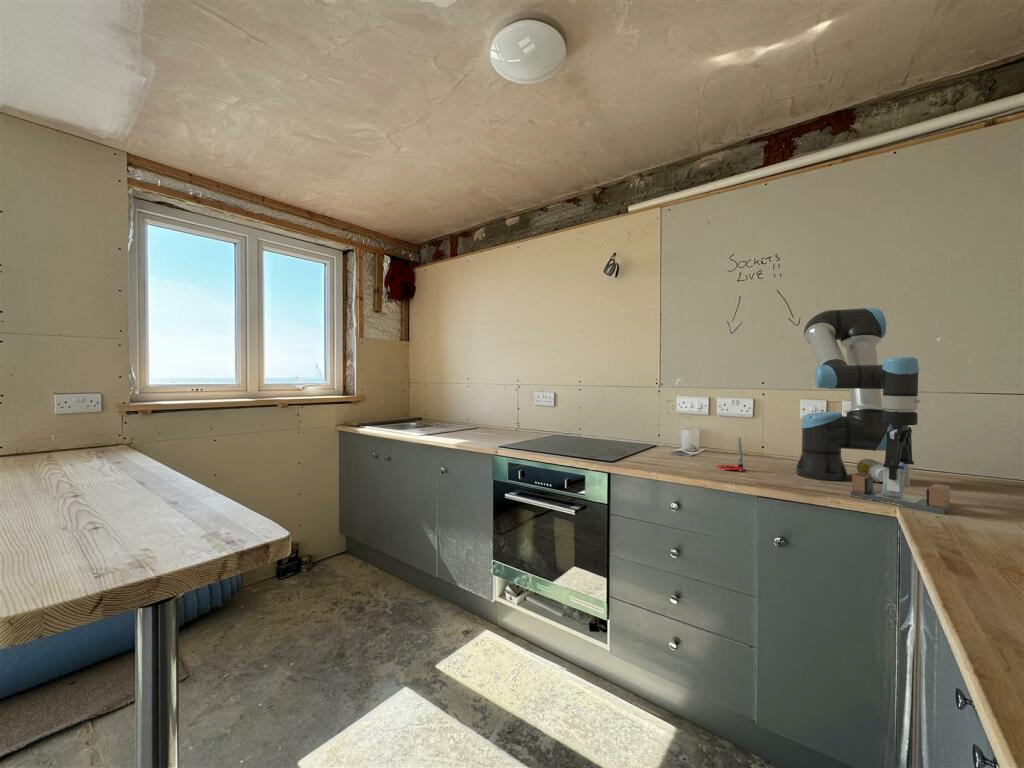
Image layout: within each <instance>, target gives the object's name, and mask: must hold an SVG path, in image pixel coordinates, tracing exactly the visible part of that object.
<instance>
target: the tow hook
mask: <svg viewBox="0 0 1024 768" xmlns="http://www.w3.org/2000/svg"><path fill="white" fill-rule="evenodd" d="M737 439H738V440H737V441H738V442H737V453H738V455H737V459H738V461H737V462H738V464H737V465H733V464H732V465H731V464H721V465H717V466H716V469H717V468H720V469H725V470H739V471H738V472H740V471H742V472H743V471H744V463H743V462H744V461H743V452H742V449H743V448H742V442H741V440H742V439H741V437H739V436H738V438H737ZM724 466H726V467H734V468H722V467H724Z"/></svg>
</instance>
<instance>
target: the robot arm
mask: <svg viewBox="0 0 1024 768" xmlns="http://www.w3.org/2000/svg"><path fill="white" fill-rule="evenodd" d="M886 334H887V321H886V316H885V315H884V313H883V312H882V311H881V310H880V309H879V308H877V307H876V308H875V307H861V308H849V309H848V308H847V309H829V310H825V311H822V312H819V313H817V314H815V315H813V316H812V317H811V319H810V320H808V322H807V323H806V324H805V326H804V329H803V336H804V339H805V341H806V342H807V343H808V344H809V345H810V346H811V349H812V352H813V355H814V357H815V360H816V363H817V365H818V366H816V367H815V369H814V375H813V376H814V378H813V379H814V385H815V386H816V387H817V388H819V389H829V390H834V389H835V390H837V389H838V390H839V389H840V390H841V389H844V390H845V389H846V390H847V389H849V397H850V408H849V410H847V411H846V415H845V416H844V415H843V414H842V412H840V411H824V412H823V411H822V412H813V413H807V414H805V415H803V416H802V422H801V427H800V428H801V454H800V456H799V458H798V461H797V463H796V467H795V474H796V475H798V476H801V477H804V478H808V479H809V478H810V479H813V480H822V481H835V482H836V481H845V480H847V479H848V472H847V469H846V466H845V463H844V460H843V459H842V450H843V449H845V450H857V451H860V450H861V451H872V452H876V451H881V452H883V451H884V452H885V455H884V456H885V457H884V461H885V463H882V464H883V467H887V490H889V491H895V492H900V472H901V469H899V465H900V462H902V463H904V468H905V474H904V487H906V488H907V487H908V488H910V487H911V486H910V485H911V484H910V483H911V482H910V481H911V465H914V463H915V461H913V444H912V443H913V442H912V431H913V430H912V428H909V426H917V425H918V423H919V422H918V415H919V414H918V412H917V410H918V404H920V403H921V400H920V399H918V397H919V372H920V368H919V360H918V358H916V357H913V356H912V357H911V356H908V357H907V356H903V357H897V356H896V357H886V358H884V359H883V362H882V364H879V363H878V362H879V361H878V355H877V353H878V352H877V345H879V343H881V340H882V339H883V338H885V336H886ZM838 341H840V346H841V347H843V348H844V349H846V351H845V352H846V358H845V356H844V354H843V352H842V350H841V348H840V346H839V343H838ZM846 360H847V361H846ZM891 462H892V463H891Z"/></svg>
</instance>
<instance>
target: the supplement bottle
mask: <svg viewBox="0 0 1024 768" xmlns="http://www.w3.org/2000/svg"><path fill="white" fill-rule="evenodd" d="M883 464H884V463H882V462H879V461H876V460H874V459H871V458H863V459H860V460H859V461H858V463H857V464H856V470H857V473H859V472H861V473H867V474H872V477H874V479H873V482H876V483H879V482H883V474H884V467H883Z"/></svg>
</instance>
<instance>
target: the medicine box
mask: <svg viewBox="0 0 1024 768" xmlns="http://www.w3.org/2000/svg"><path fill="white" fill-rule="evenodd" d="M884 463H885V460H884ZM884 463H883V464H884ZM891 463H892V462H891ZM899 469H901V472H900V492H895V491H889V490H887V467H884V474H883V483H882V491H883V493H884V494H890V495H896V496H903V495H904V487H905V486H904V474H905V468H904V463H902V462H900V465H899Z"/></svg>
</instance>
